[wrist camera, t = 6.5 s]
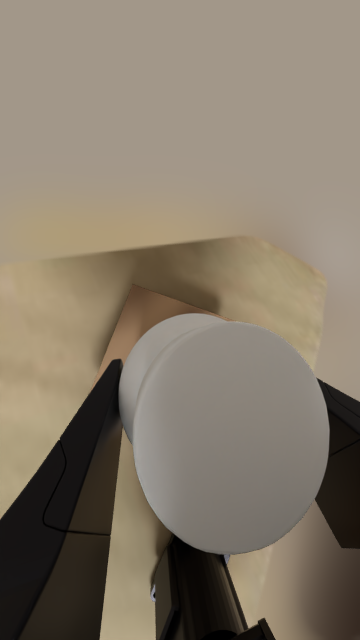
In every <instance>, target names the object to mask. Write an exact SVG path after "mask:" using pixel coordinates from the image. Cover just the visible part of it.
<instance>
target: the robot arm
mask: <svg viewBox="0 0 360 640" xmlns="http://www.w3.org/2000/svg"><path fill="white" fill-rule="evenodd" d="M123 367H124V366H123V362H122V359H120V358H119V359H113V360H112V361H111V362H110V364H109V365H108V367H107V368H106V370H105V371H104V372H103V374H102V375H101V377H100V378H99V380H98V381H97V383H96V384H95V386H94V387H93V389H92V390H91V392H90V393H89V395H88V396H87V398H86V399H85V401H84V402H83V404H82V405H81V407H80V408H79V410H78V411H77V413H76V414H75V416H74V417H73V419H72V420H71V422H70V423H69V425H68V426H67V428H66V429H65V431H64V432H63V434H62V435H61V437H60V440H58V441H57V443H56V444H55V446H54V447H53V449H52V450H51V452H50V453H49V455H48V456H47V457H46V459H45V460H44V462H43V463H42V465H41V466H40V467H39V469H38V470H37V472H36V473H35V474H34V476H33V477H32V478H31V480H30V481H29V482H28V484H27V485H26V486H25V488H24V489H23V490H22V492H21V493H20V494H19V496H18V497H17V498H16V500H15V501H14V502H13V504H12V505H11V506H10V507H9V509H8V510H7V511H6V513H5V514H4V515H3V517H2V518H1V519H0V640H99V639H100V630H101V621H102V612H103V602H104V593H105V584H106V575H107V566H108V557H109V548H110V539H111V536H110V535H111V529H112V520H113V511H114V502H115V492H116V483H117V474H118V465H119V456H120V447H121V437H122V428H123V424H122V420H121V417H120V411H119V400H118V392H119V383H120V377H121V373H122V369H123ZM317 381H318V383H319V386H320V388H321V391H322V393H323V397H324V400H325V403H326V407H327V414H328V421H329V452H328V460H327V466H326V470H325V474H324V477H323V480H322V483H321V486H320V488H319V491H318V493H317V495H316V497H315V501H316V502H317V504H318V506H319V508H320V510H321V511H322V514H323V515H324V517H325V519H326V521H327V523H328V525H329V527H330V528H331V530H332V532H333V534H334V536H335V538H336V539H337V541H338V543H339V545H340V546H341V548H353V549H354V548H355V549H360V402H359V401H357V400H355V399H353V398H351V397H350V396H348V395H346V394H344V393H342V392H340V391H339V390H337V389H335V388H333V387H332V386H330V385H328V384H327V383H325V382H323V381H321V380H320V379H318V378H317ZM229 557H230V554H216V553H210V552H205V551H202V550H200V549H197V548H194V547H192V546H191V545H189V544H187V543H185V542H184V541H182V540H181V539H180V538H179V537H177V536H176V535H175V534H174V533H173V535H172V537H171V540H170V542H169V544H168V545H167V546H166V549H165V551H164V553H163V556H162V558H161V561H160V563H159V566H158V568H157V571H156V573H155V579H154V581H153V584H152V586H151V600H152V601H154V602H155V614H156V640H275V638H274V636H273V634H272V632H271V630H270V628H269V626H268V624H267V622H266V620H265V618H262V619H261V620H259V621H258V624H256V625H254V626H253V627H251V628H248V626H247V623H246V620H245V617H244V614H243V611H242V608H241V605H240V602H239V599H238V596H237V594H236V591H235V588H234V585H233V582H232V579H231V576H230V573H229V570H228V567H227V563H228V560H229Z"/></svg>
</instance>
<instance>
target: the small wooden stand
mask: <svg viewBox="0 0 360 640" xmlns="http://www.w3.org/2000/svg"><path fill="white" fill-rule="evenodd" d="M190 313H199V314H207V315H212V316H216V317H218V318H221V319H223V320H226V321H228V322H230V321H234V320H231V319H228V318H225V317H223V316H220V315H217V314H214V313H211V312H209V311H206V310H203V309H200V308H198V307H195V306H192V305H189V304H186V303H184V302H181V301H178V300H175V299H172V298H170V297H167V296H164V295H161V294H159V293H156V292H153V291H150V290H147V289H145V288H142V287H139V286H136V285H134V284H133V285H132V287H131V290H130V292H129V295H128V297H127V300H126V303H125V305H124V308H123V310H122V313H121V315H120V318H119V320H118V323H117V325H116V328H115V330H114V333H113V335H112V338H111V341H110V343H109V346H108V348H107V351H106V353H105V356H104V358H103V361H102V363H101V366H100V368H99V371H98V373H97V376H96V378H95V381H94V384H93V386H92V389H93V387H94V386H95V384H96V383H97V381H98V380H99V378H100V377H101V375H102V374H103V372H104V371H105V370H106V368H107V367H108V365H109V364H110V362H111V361H112V360H113V359H119V358H120V359H122V362H123V366H124V364H125V362H126V359H127V357H128V355H129V353H130V352H131V350H132V348H133V347H134V346H135V344H136V343H137V342H138V340H139V339H140V338H141V337H142V336H143V335H144V334H145V333H146V332H147V331H148V330H150V329H151V328H152V327H154V326H155V325H157V324H158V323H160V322H162V321H164V320H166V319H168V318H171V317H174V316H177V315H182V314H190ZM235 322H236V321H235ZM92 389H91V390H92ZM90 392H91V391H90Z"/></svg>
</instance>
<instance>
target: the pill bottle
mask: <svg viewBox="0 0 360 640" xmlns="http://www.w3.org/2000/svg"><path fill="white" fill-rule="evenodd" d="M118 400H119V411H120V417H121V420H122V424H123V427H124V430H125V432H126V434H127V436H128V439H129V440H130V442H131V444H132V445H133V452H134V460H135V467H136V471H137V475H138V478H139V481H140V484H141V486H142V489H143V492H144V494H145V497H146V499H147V502H148V503H149V505H150V506H151V507H152V509H153V511H154V512H155V514H156V515H157V517H158V518H159V519H160V520H161V522H162V523H163V524H164V525H165V527H166V528H167V529H169V530H170V531H171V532H172V533H174V534H175V535H176V536H177V537H179V538H180V539H181V540H182V541H184V542H185V543H187V544H189V545H191V546H192V547H194V548H197V549H200V550H202V551H205V552H210V553H216V554H232V555H235V554H240V553H247V552H251V551H255V550H259V549H262V548H265V547H267V546H269V545H271V544H273V543H275V542H276V541H278V540H279V539H280V538H282V537H283V536H284V535H285V534H287V533H288V532H289V531H290V530H291V529H292V528H293V527H294V526H295V525H296V524H297V523H298V522H299V521H300V520H301V519H302V518H303V516H304V515H305V513H306V512H307V510H308V509H309V507H310V505H311V504H312V502H313V501H314V499H315V497H316V495H317V493H318V491H319V488H320V486H321V483H322V480H323V477H324V474H325V470H326V466H327V460H328V452H329V421H328V414H327V407H326V403H325V400H324V397H323V393H322V391H321V388H320V386H319V383H318V381H317V378H316V377H315V375H314V373H313V371H312V369H311V368H310V366H309V365H308V363H307V362H306V360H305V359H304V358H303V357H302V355H301V354H300V353H299V352H298V351H297V350H296V349H295V348H294V347H293V346H292V345H291V344H290V343H288V342H287V341H286V340H285V339H284V338H282V337H281V336H279V335H277V334H276V333H274V332H272V331H271V330H268V329H266V328H264V327H261V326H258V325H255V324H251V323H246V322H235V321H230V322H228V321H226V320H223V319H221V318H218V317H216V316H212V315H207V314H199V313H190V314H182V315H177V316H174V317H171V318H168V319H166V320H164V321H162V322H160V323H158V324H157V325H155V326H154V327H152V328H151V329H150V330H148V331H147V332H146V333H145V334H144V335H143V336H142V337H141V338H140V339H139V340H138V342H137V343H136V344H135V346H134V347H133V348H132V350H131V352H130V353H129V355H128V357H127V359H126V362H125V364H124V367H123V369H122V373H121V377H120V383H119V392H118Z"/></svg>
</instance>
